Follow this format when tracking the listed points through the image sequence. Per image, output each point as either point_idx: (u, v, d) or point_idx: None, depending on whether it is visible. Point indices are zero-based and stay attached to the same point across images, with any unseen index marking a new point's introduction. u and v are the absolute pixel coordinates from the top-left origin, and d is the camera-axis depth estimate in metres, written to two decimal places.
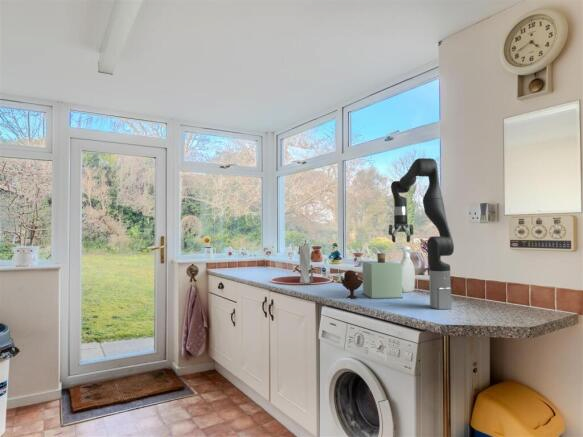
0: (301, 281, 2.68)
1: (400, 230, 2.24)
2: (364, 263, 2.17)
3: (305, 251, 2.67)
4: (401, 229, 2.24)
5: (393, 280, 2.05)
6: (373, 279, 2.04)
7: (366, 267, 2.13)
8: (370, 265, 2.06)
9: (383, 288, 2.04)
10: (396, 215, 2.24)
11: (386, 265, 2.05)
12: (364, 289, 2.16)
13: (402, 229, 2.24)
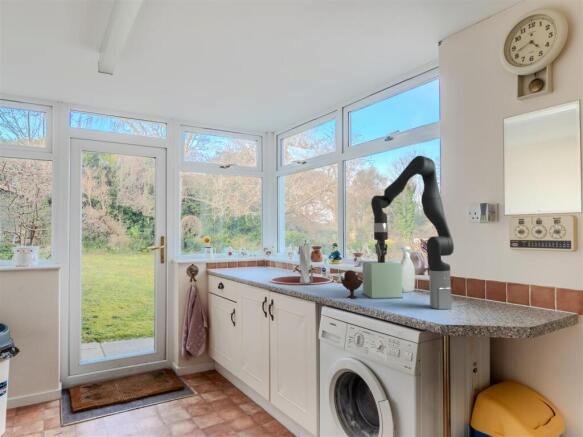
0: (301, 281, 2.68)
1: None
2: (364, 263, 2.17)
3: (305, 251, 2.67)
4: None
5: (393, 280, 2.05)
6: (373, 279, 2.04)
7: (366, 267, 2.13)
8: (370, 265, 2.06)
9: (383, 288, 2.04)
10: (385, 232, 2.11)
11: (386, 265, 2.05)
12: (364, 289, 2.16)
13: None
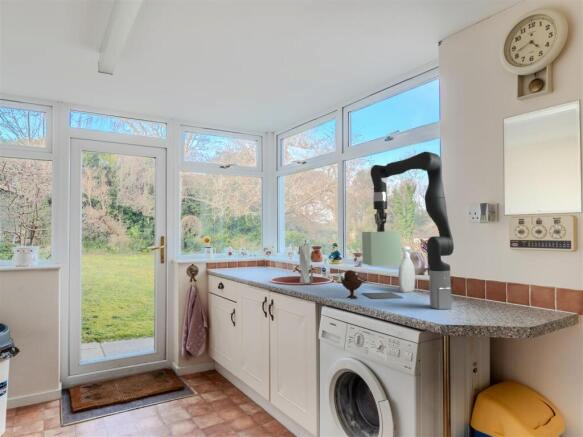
0: (301, 281, 2.68)
1: None
2: (364, 233, 2.17)
3: (305, 251, 2.67)
4: None
5: (393, 248, 2.06)
6: (373, 247, 2.04)
7: (366, 236, 2.14)
8: (370, 233, 2.06)
9: (383, 256, 2.05)
10: (385, 201, 2.11)
11: (385, 233, 2.06)
12: (364, 259, 2.17)
13: None
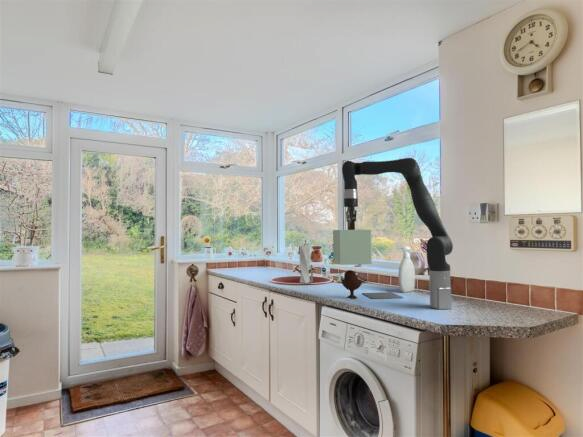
0: (301, 281, 2.68)
1: None
2: (334, 231, 2.11)
3: (305, 251, 2.67)
4: None
5: (363, 247, 2.00)
6: (341, 245, 1.99)
7: (336, 235, 2.08)
8: (339, 231, 2.01)
9: (352, 255, 1.99)
10: (355, 198, 2.06)
11: (355, 231, 2.00)
12: (334, 258, 2.11)
13: None
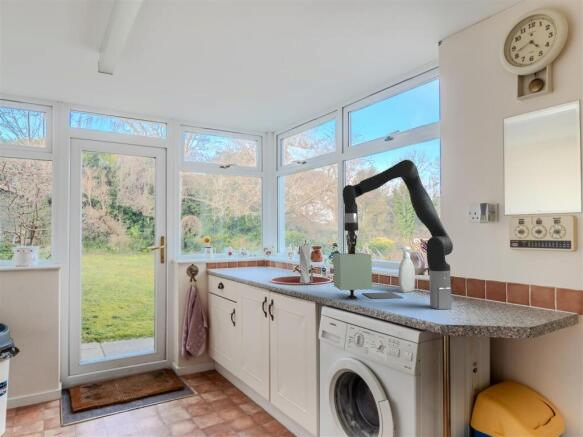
0: (301, 281, 2.68)
1: None
2: (334, 255, 2.11)
3: (305, 251, 2.67)
4: None
5: (363, 272, 1.99)
6: (342, 271, 1.98)
7: (336, 259, 2.07)
8: (339, 256, 2.00)
9: (352, 280, 1.98)
10: (355, 222, 2.05)
11: (355, 256, 1.99)
12: (335, 281, 2.10)
13: None
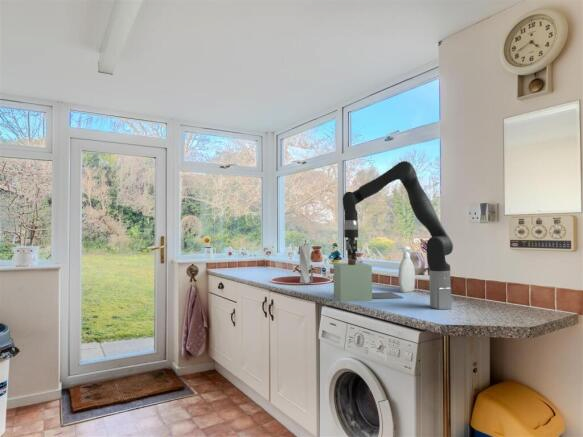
0: (301, 281, 2.68)
1: None
2: (335, 265, 2.11)
3: (305, 251, 2.67)
4: None
5: (363, 283, 1.99)
6: (342, 282, 1.98)
7: (336, 269, 2.07)
8: (339, 267, 2.00)
9: (352, 291, 1.98)
10: (355, 229, 2.05)
11: (355, 267, 1.99)
12: (335, 292, 2.10)
13: None
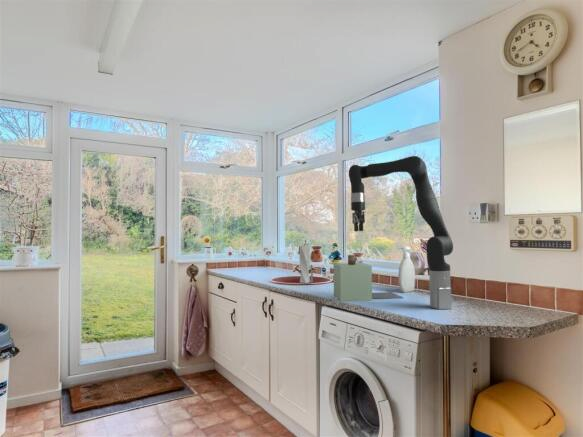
0: (301, 281, 2.68)
1: None
2: (335, 265, 2.11)
3: (305, 251, 2.67)
4: None
5: (363, 283, 1.99)
6: (342, 282, 1.98)
7: (336, 269, 2.07)
8: (339, 267, 2.00)
9: (352, 291, 1.98)
10: (362, 202, 2.07)
11: (355, 267, 1.99)
12: (335, 292, 2.10)
13: None
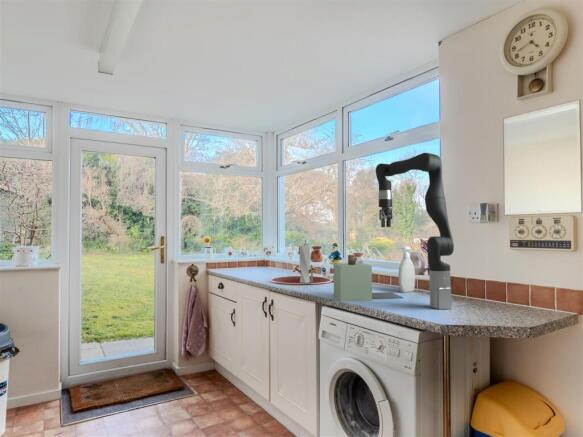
0: (301, 281, 2.68)
1: None
2: (335, 265, 2.11)
3: (305, 251, 2.67)
4: None
5: (363, 283, 1.99)
6: (342, 282, 1.98)
7: (336, 269, 2.07)
8: (339, 267, 2.00)
9: (352, 291, 1.98)
10: (390, 199, 2.15)
11: (355, 267, 1.99)
12: (335, 292, 2.10)
13: None
